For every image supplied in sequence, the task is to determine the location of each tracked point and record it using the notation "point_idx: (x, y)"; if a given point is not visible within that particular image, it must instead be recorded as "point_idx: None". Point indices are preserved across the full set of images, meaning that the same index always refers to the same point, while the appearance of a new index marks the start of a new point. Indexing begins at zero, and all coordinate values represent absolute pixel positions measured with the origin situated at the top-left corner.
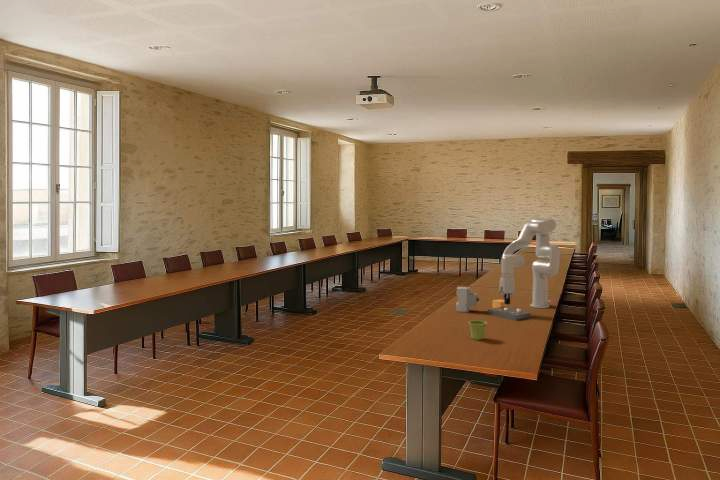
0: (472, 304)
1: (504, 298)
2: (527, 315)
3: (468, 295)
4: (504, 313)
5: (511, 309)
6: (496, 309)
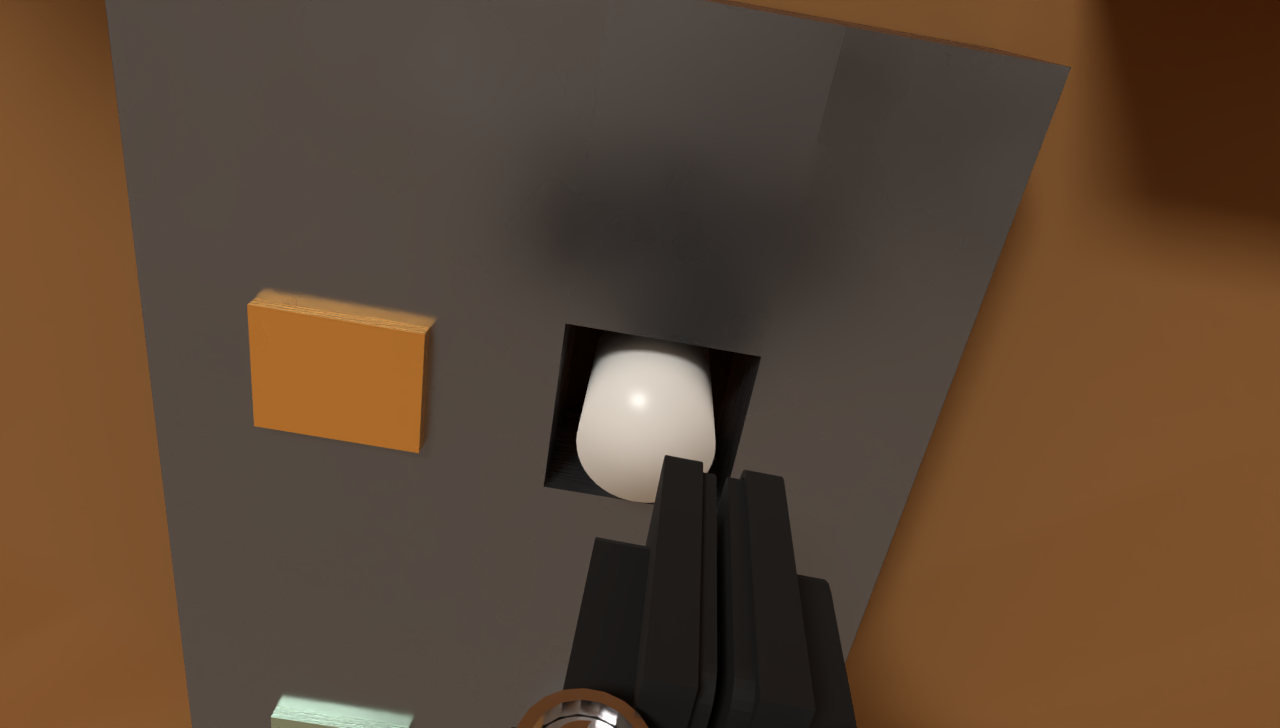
0: None
1: (645, 630)
2: None
3: None
4: (189, 601)
5: None
6: (338, 208)
